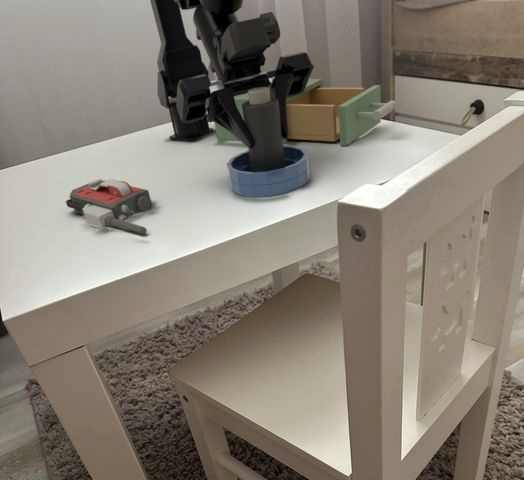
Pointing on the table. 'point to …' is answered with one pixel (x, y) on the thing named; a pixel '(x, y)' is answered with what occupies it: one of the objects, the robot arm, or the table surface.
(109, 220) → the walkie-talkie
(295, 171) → the bowl
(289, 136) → the drawer
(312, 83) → the cabinet
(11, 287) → the table surface
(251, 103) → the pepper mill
